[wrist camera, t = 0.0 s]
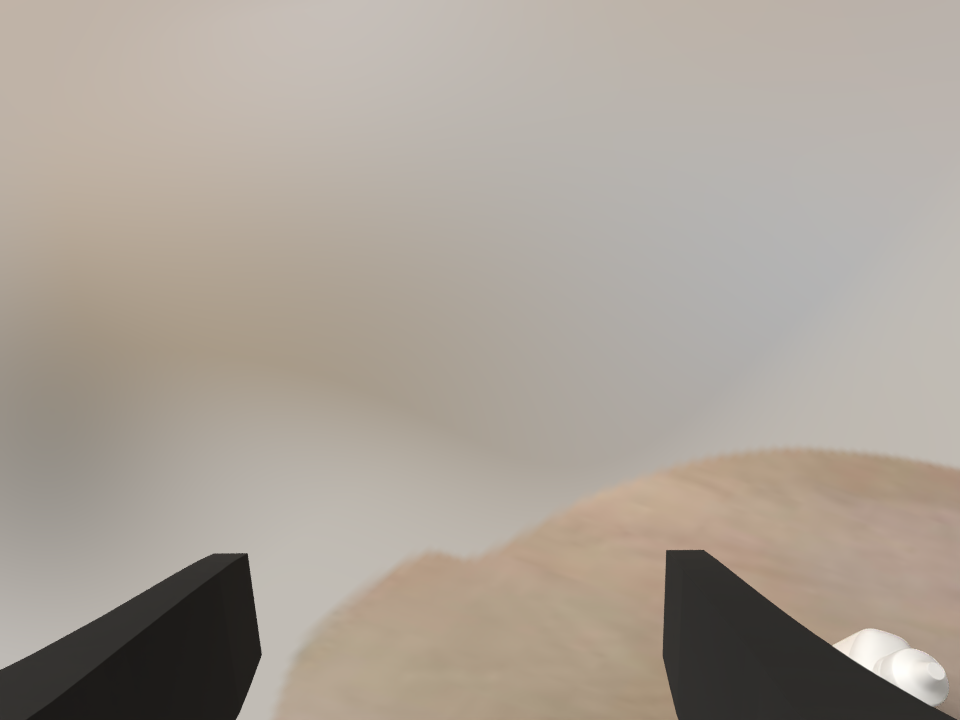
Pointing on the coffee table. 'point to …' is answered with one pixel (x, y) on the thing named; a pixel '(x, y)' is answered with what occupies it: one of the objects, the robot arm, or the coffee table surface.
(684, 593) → the robot arm
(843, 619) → the coffee table surface
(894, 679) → the eye dropper bottle
